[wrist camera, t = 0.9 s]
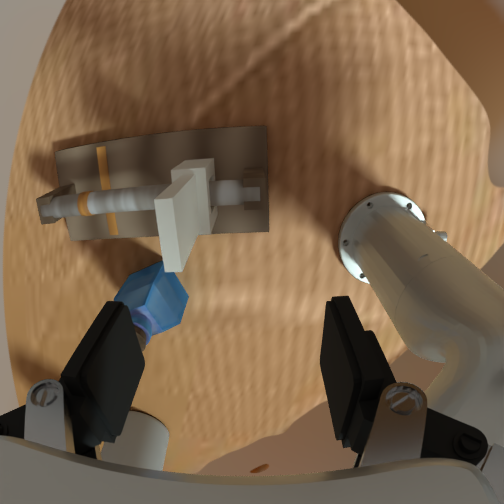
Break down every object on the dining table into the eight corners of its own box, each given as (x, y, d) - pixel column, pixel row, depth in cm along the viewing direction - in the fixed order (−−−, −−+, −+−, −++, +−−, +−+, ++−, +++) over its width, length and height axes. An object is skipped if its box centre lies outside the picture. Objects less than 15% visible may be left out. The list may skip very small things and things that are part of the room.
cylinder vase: (104, 406, 54) (68, 506, 32) (158, 410, 54) (132, 523, 31) (127, 438, 60) (102, 528, 37) (177, 442, 59) (160, 541, 36)
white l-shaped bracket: (213, 158, 31) (186, 189, 18) (217, 213, 34) (196, 278, 21) (185, 160, 31) (139, 192, 18) (190, 215, 34) (153, 279, 21)
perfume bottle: (166, 258, 40) (138, 311, 29) (188, 296, 43) (170, 355, 32) (129, 274, 41) (95, 327, 31) (152, 309, 44) (127, 367, 33)
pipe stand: (265, 125, 34) (269, 128, 26) (268, 226, 38) (272, 255, 31) (62, 149, 34) (24, 161, 26) (77, 235, 39) (46, 261, 31)
